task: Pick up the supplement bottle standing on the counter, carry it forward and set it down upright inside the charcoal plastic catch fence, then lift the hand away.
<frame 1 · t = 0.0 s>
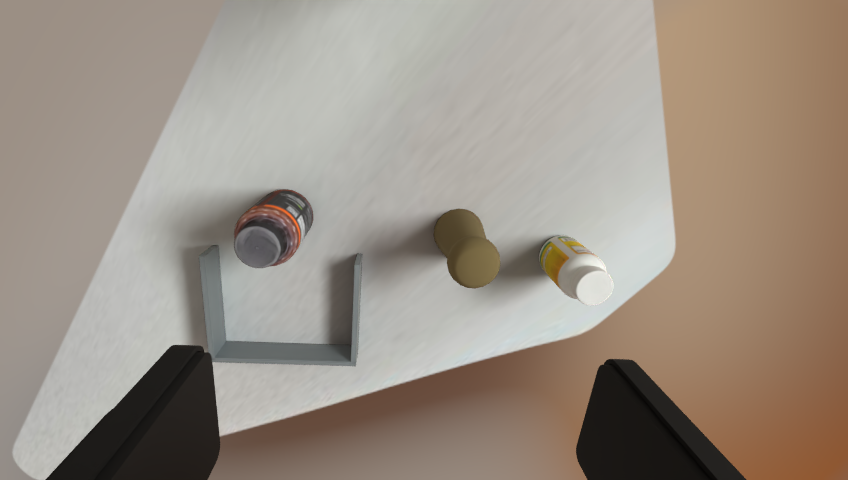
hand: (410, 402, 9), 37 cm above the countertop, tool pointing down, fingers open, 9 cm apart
supplement bottle 2: (557, 254, 49), on the countertop
supplement bottle: (288, 213, 45), on the countertop
cork: (458, 232, 47), on the countertop
catch fence: (290, 299, 48), on the countertop
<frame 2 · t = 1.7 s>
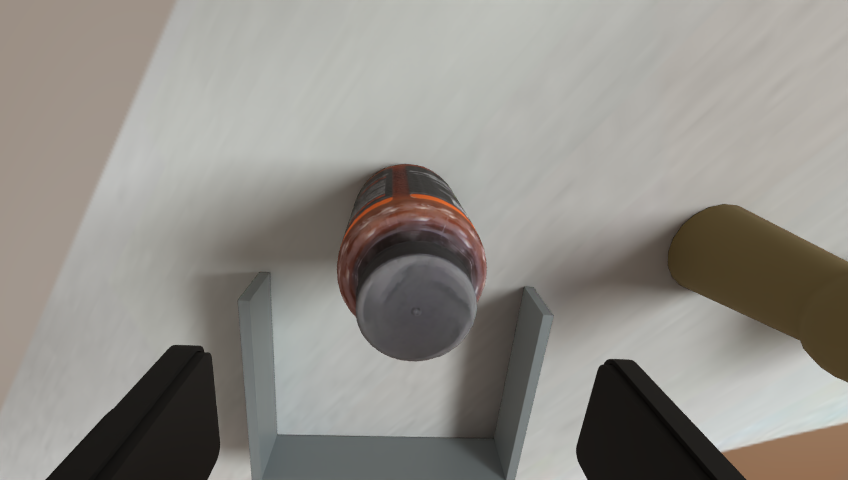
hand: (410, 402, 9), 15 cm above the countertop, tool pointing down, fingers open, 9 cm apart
supplement bottle: (406, 211, 23), on the countertop
cork: (711, 248, 25), on the countertop
catch fence: (394, 366, 27), on the countertop
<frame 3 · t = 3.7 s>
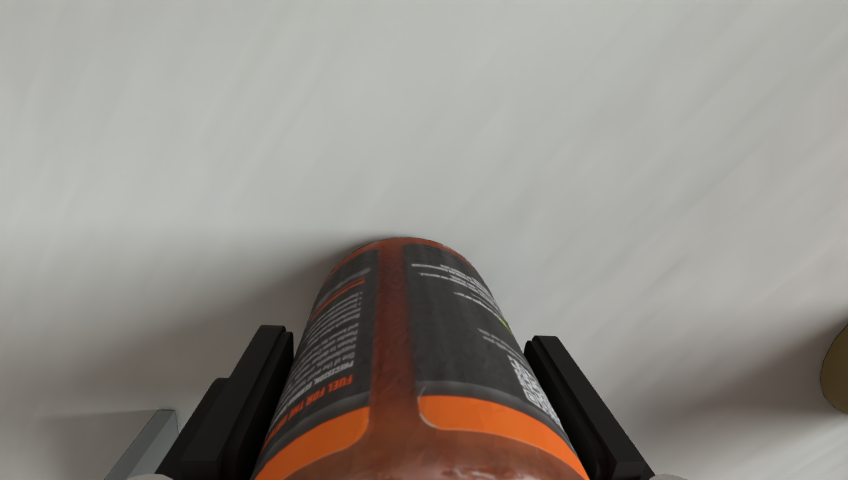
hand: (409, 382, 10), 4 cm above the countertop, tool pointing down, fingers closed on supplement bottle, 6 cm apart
supplement bottle: (404, 309, 14), on the countertop, touching gripper
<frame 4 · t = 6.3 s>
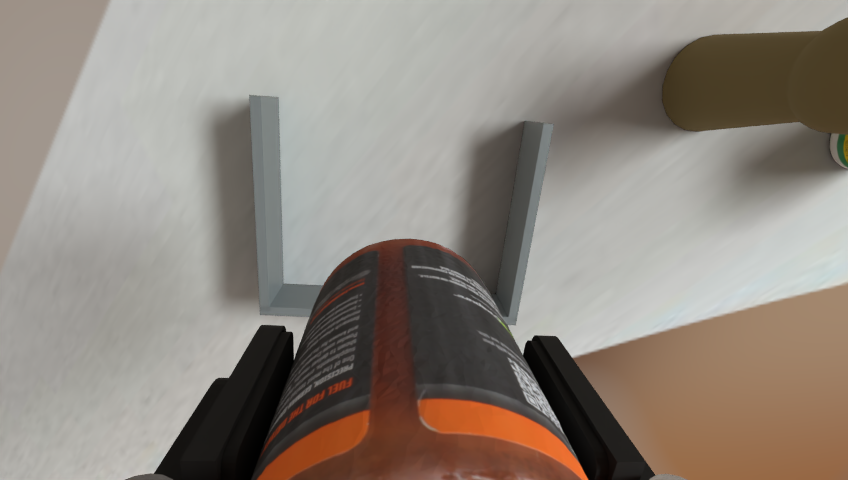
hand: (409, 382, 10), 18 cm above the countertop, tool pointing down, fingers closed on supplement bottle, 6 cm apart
supplement bottle: (404, 311, 14), point 15 cm above the countertop, touching gripper
cork: (703, 84, 26), on the countertop
catch fence: (398, 208, 27), on the countertop
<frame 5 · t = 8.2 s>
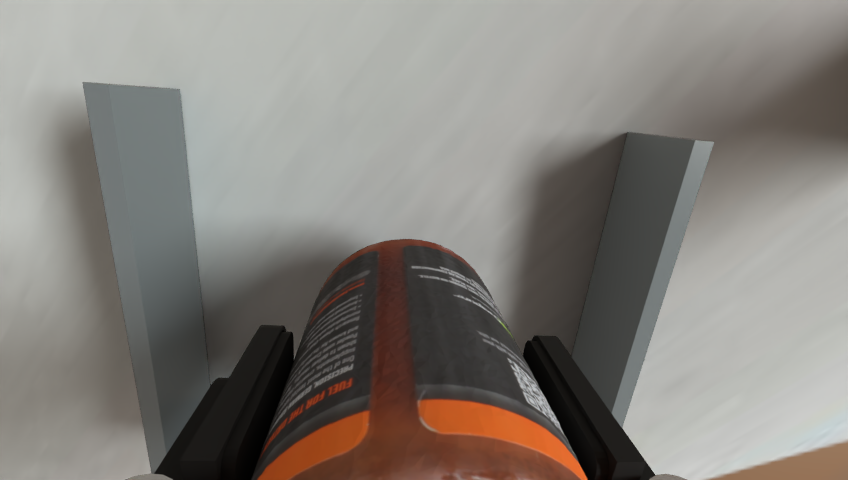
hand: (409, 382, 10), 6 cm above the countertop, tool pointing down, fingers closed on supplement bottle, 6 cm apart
supplement bottle: (404, 311, 14), point 2 cm above the countertop, touching gripper
catch fence: (403, 280, 16), on the countertop
when the fingers open (5 cm above the countertop, at t = 9.4 s): supplement bottle drops 1 cm, on the countertop.
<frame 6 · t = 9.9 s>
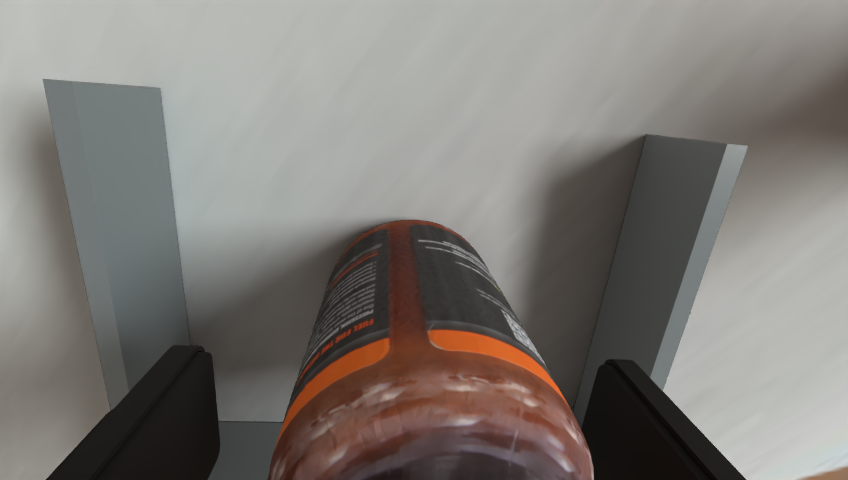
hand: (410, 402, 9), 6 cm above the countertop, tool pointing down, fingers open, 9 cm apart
supplement bottle: (409, 287, 15), on the countertop
catch fence: (403, 293, 15), on the countertop
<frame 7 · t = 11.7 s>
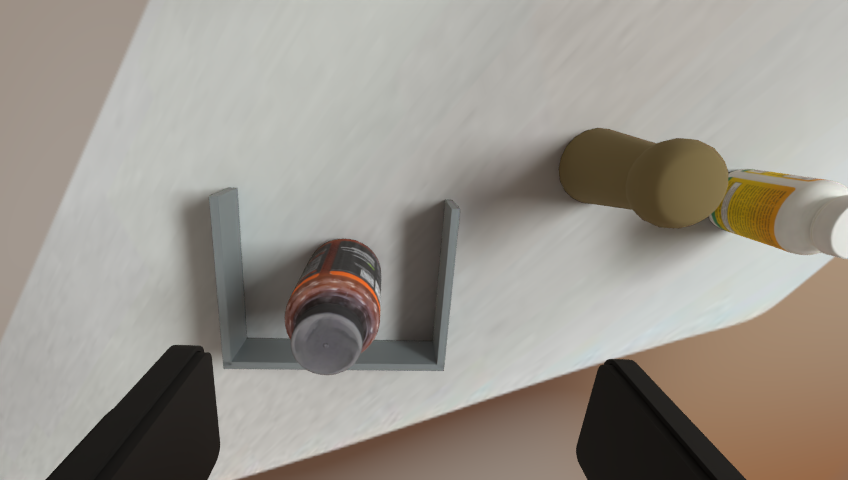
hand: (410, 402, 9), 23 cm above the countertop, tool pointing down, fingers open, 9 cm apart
supplement bottle 2: (731, 199, 34), on the countertop
supplement bottle: (346, 269, 33), on the countertop
cork: (593, 166, 32), on the countertop
catch fence: (342, 272, 32), on the countertop
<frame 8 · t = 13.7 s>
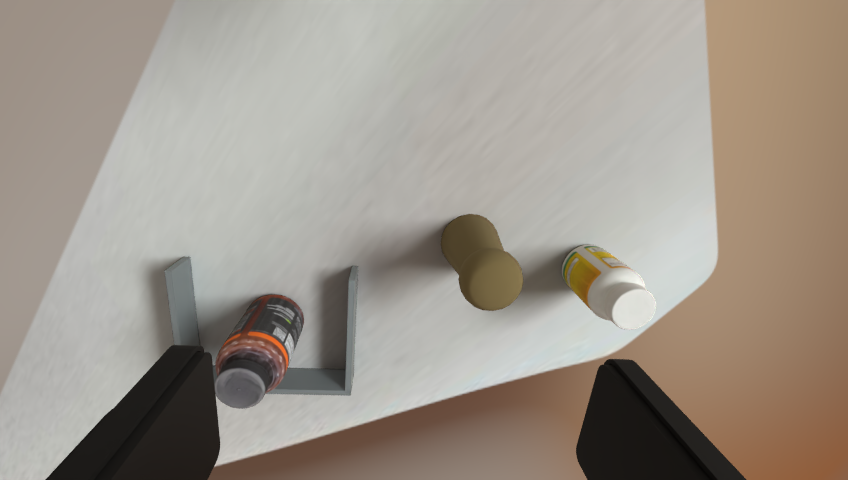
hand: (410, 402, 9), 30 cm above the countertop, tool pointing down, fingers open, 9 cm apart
supplement bottle 2: (582, 265, 43), on the countertop
supplement bottle: (277, 316, 42), on the countertop
cork: (469, 241, 41), on the countertop
catch fence: (274, 318, 42), on the countertop
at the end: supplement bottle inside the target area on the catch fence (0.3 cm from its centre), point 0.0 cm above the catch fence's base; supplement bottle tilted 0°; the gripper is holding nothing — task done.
